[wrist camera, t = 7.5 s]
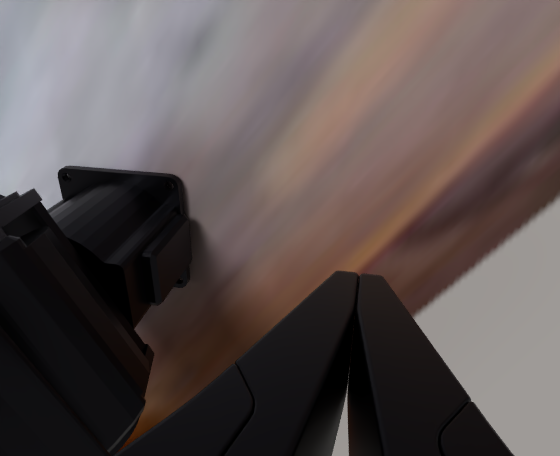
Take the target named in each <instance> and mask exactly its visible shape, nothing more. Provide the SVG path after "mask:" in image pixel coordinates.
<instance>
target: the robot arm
mask: <svg viewBox="0 0 560 456" xmlns="http://www.w3.org/2000/svg"><path fill="white" fill-rule="evenodd" d="M67 173H68V174H69V175H70V176H71V179H70V178H69V177H68V176H67ZM58 180H59V184H60V189H61V193H62V198H63V200H62V201H60V202H59V203H57V204H56V205H54V206H52V207H51V208H49V209H48V210H46V209H45V207H44V206H43V205H42V203H41V202H40V201H41V200H42V198H41V197H40V196H39V194H38V193H37V192H36V190H35V189H34V188H33V189H32V190H30V191H28V192H26V193H24V194H22V195H19V194H18V193H17V191H16V192H14V193H12V194H11V195H9V196H7V197H5V196H3V195H0V456H332V452H333V448H334V444H335V440H336V435H337V431H338V427H339V423H340V419H341V415H342V411H343V406H344V402H345V397H346V392H347V385H348V437H349V456H514V455H513V454H512V453H511V451H510V450H509V449H508V447H507V446H506V445H505V443H504V442H503V441H502V440H501V439H500V437H499V436H498V434H497V433H496V432H495V430H494V429H493V428H492V427H491V425H490V424H489V423H488V421H487V420H486V419H485V417H484V416H483V414H482V413H481V412H480V410H479V409H478V408H477V406H476V405H475V404H474V402H471V399H470V397H469V395H468V394H467V393H466V391H465V390H464V388H463V387H462V386H461V384H460V383H459V381H458V380H457V379H456V377H455V376H454V375H453V373H452V372H451V370H450V369H449V368H448V366H447V365H446V363H445V362H444V361H443V359H442V358H441V356H440V355H439V354H438V352H437V351H436V350H435V349H434V347H433V345H432V344H431V343H430V341H429V340H428V338H427V337H426V336H425V334H424V333H423V332H422V330H421V329H420V328H419V326H418V325H417V323H416V322H415V320H414V319H413V318H412V316H411V315H410V314H409V312H408V311H407V309H406V308H405V307H404V305H403V304H402V302H401V301H400V300H399V298H398V297H397V296H396V294H395V293H394V291H393V290H392V289H391V287H390V286H389V284H388V283H387V282H386V280H385V279H384V278H383V277H382V276H380V275H373V274H360V276H358V274H357V273H355V272H347V271H336V272H334V273H333V274H332V275H331V276H330V277H329V278H328V279H327V280H325V281H324V282H323V283H322V284H321V285H320V286H319V287H318V288H317V289H315V290H314V291H313V292H312V293H311V294H310V295H309V296H308V297H307V298H305V299H304V300H303V301H302V302H301V303H300V304H299V305H298V306H297V307H295V308H294V309H293V310H292V311H291V312H290V313H289V314H288V315H287V316H285V317H284V318H283V319H282V320H281V321H280V322H279V323H278V324H277V325H275V326H274V327H273V328H272V329H271V330H270V331H269V332H268V333H267V334H265V335H264V336H263V337H262V338H261V339H260V340H259V341H258V342H257V343H255V344H254V345H253V346H252V347H251V348H250V349H249V350H248V351H247V352H245V353H244V354H243V355H242V356H241V357H240V358H239V359H238V360H237V361H236V362H235V364H232V365H231V366H230V367H229V368H227V369H226V370H225V371H224V372H223V373H222V374H221V375H220V376H219V377H217V378H216V379H215V380H214V381H213V382H211V383H210V384H209V385H208V386H207V387H205V388H204V389H203V390H202V391H201V392H200V393H198V394H197V395H196V396H195V397H193V398H192V399H191V400H189V401H188V402H187V403H185V404H184V405H183V406H181V407H180V408H179V409H177V410H176V411H175V412H173V413H172V414H171V415H169V416H168V417H167V418H165V419H164V420H163V421H161V422H160V423H158V424H157V425H156V426H154V427H153V428H151V429H150V430H148V431H147V432H146V433H144V434H143V435H141V436H140V437H139V438H137V439H136V440H134V441H133V442H132V443H130V444H129V445H127V446H126V447H125V448H123V449H122V450H120V451H119V452H118V453H117V451H118V450H119V449H120V448H121V447H122V446H123V445H124V444H125V442H126V441H127V440H128V438H129V437H130V436H131V434H132V432H133V431H134V429H135V427H136V425H137V423H138V420H139V417H140V415H141V413H142V412H143V410H144V406H145V403H146V400H145V398H144V397H145V393H146V388H147V384H148V380H149V375H150V371H151V366H152V362H153V358H154V352H153V351H152V349H151V348H150V346H149V345H148V344H144V342H143V341H142V340H141V338H140V337H139V336H138V334H137V333H136V332H135V330H134V328H135V327H136V326H137V324H138V323H139V321H140V320H141V319H142V317H143V316H144V315H145V313H146V312H147V310H148V309H149V308H150V306H151V305H156V306H158V305H159V304H161V303H162V302H163V301H164V299H165V298H166V297H167V295H168V294H169V292H170V291H171V289H172V288H173V287H177V288H183V287H185V286H186V285H187V283H188V282H189V280H190V272H189V263H190V262H191V260H192V253H191V241H190V230H189V220H188V218H187V217H186V215H184V208H183V197H182V186H181V181H180V180H179V178H178V177H177V176H175V175H173V174H165V173H153V172H141V171H128V170H116V169H104V168H92V167H80V166H65V167H64V168H62V169H60V170H59V172H58ZM167 182H171V183H172V184H173V188H170V187H169V186H168V185H167ZM180 277H181V278H182V279H183V280H180V279H179V278H180ZM358 279H359V281H358ZM357 289H358V291H357ZM356 299H357V300H356ZM355 309H356V310H355ZM354 319H355V320H354ZM353 328H354V330H353ZM352 338H353V340H352ZM351 348H352V350H351ZM350 357H351V360H350ZM349 367H350V370H349ZM348 377H349V380H348Z"/></svg>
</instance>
